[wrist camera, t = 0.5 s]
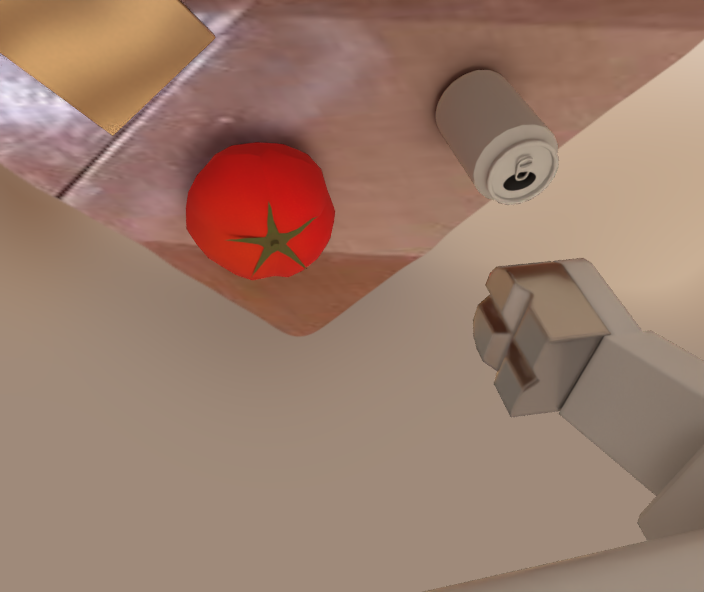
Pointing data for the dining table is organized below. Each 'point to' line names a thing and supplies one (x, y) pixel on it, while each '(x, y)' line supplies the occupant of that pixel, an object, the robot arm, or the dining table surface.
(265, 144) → the tomato
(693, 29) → the dining table surface
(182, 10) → the cork mat
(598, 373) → the robot arm
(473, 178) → the can
